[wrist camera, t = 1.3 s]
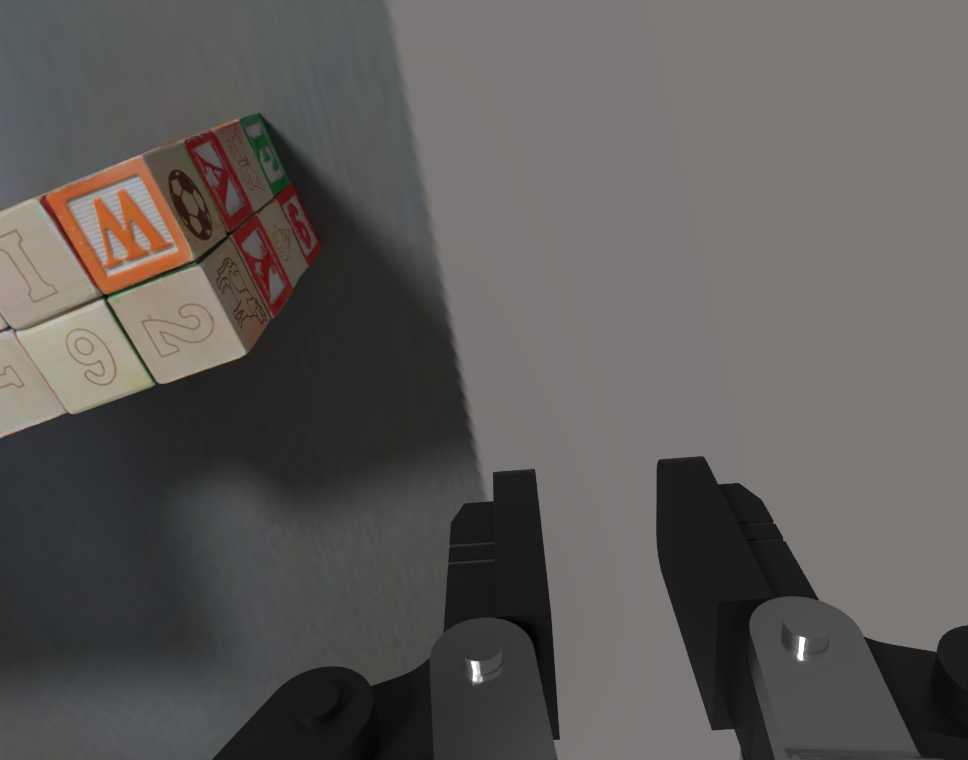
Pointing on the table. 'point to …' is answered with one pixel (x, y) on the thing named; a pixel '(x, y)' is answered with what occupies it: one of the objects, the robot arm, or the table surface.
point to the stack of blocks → (146, 272)
